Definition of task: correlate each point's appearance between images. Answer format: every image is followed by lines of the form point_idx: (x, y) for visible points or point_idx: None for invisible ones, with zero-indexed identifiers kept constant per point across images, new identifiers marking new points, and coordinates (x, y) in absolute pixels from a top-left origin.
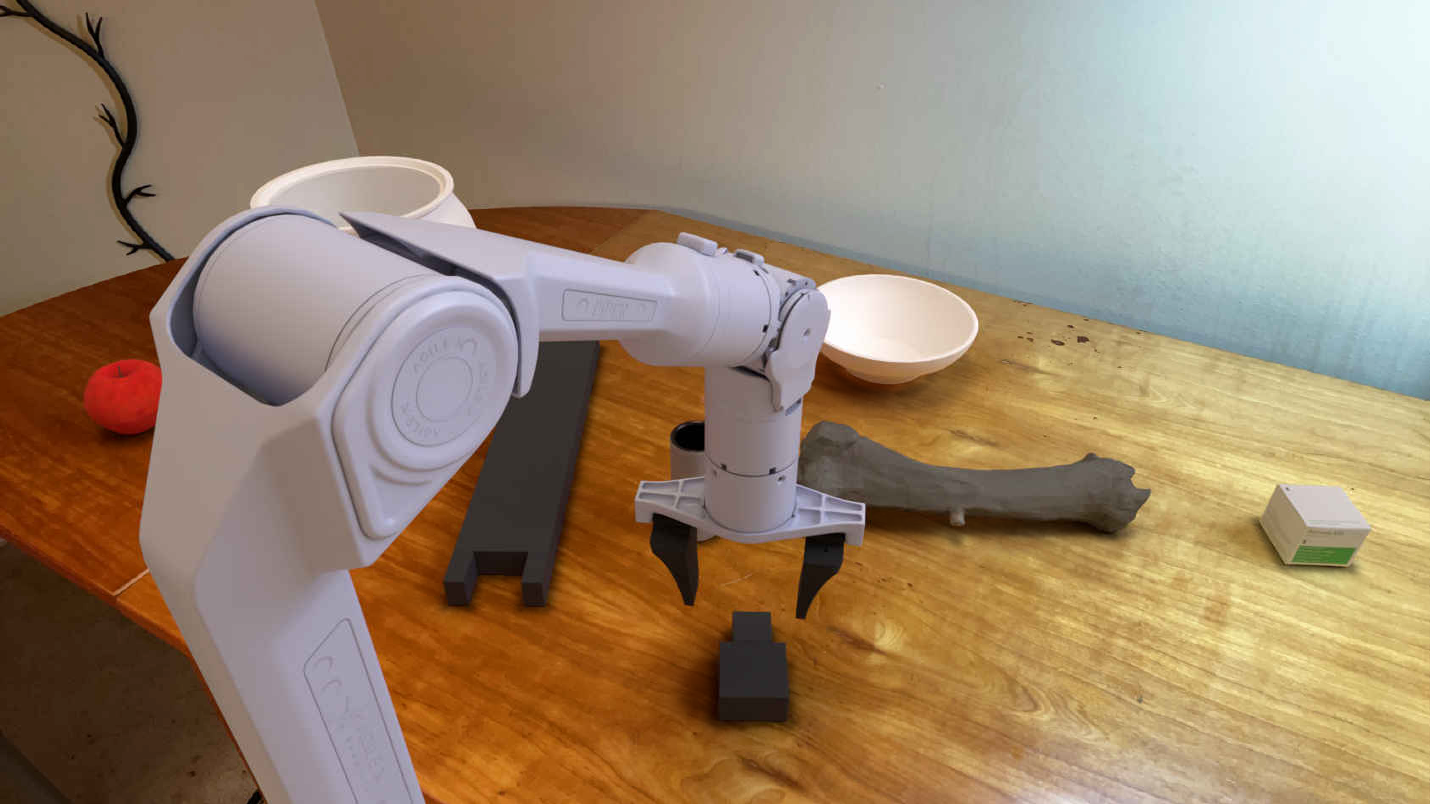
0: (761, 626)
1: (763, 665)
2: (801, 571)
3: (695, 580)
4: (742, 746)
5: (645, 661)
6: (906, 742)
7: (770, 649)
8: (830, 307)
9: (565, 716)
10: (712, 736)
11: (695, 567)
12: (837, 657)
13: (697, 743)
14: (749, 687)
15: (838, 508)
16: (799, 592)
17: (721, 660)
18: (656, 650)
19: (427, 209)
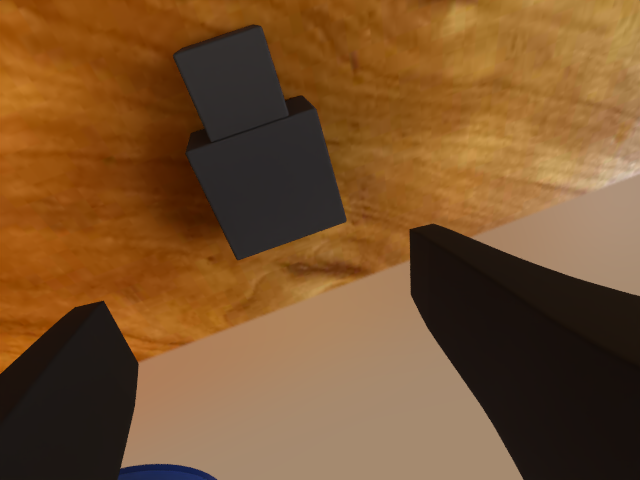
0: (254, 81)
1: (289, 177)
2: (467, 279)
3: (102, 381)
4: (281, 251)
5: (53, 171)
6: (490, 168)
7: (291, 136)
8: None
9: (7, 306)
10: None
11: (75, 402)
12: (392, 39)
13: (221, 270)
14: (279, 228)
15: None
16: (462, 354)
17: (209, 195)
18: (55, 140)
19: None
